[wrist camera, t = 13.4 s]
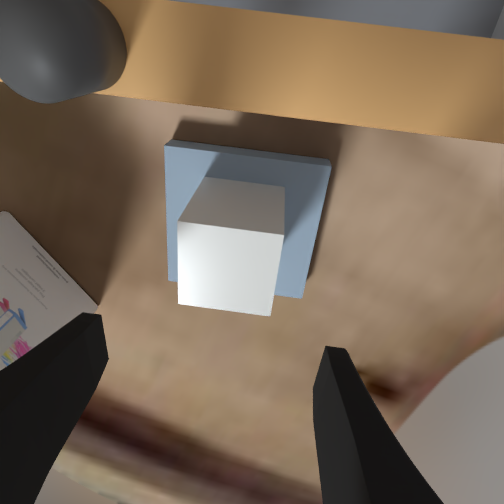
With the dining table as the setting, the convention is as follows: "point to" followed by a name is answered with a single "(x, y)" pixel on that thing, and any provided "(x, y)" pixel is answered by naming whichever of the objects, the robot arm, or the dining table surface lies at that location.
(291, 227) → the pad
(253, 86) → the bar
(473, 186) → the dining table surface
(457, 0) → the case
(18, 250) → the ink box
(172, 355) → the dining table surface
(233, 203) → the block
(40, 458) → the robot arm
